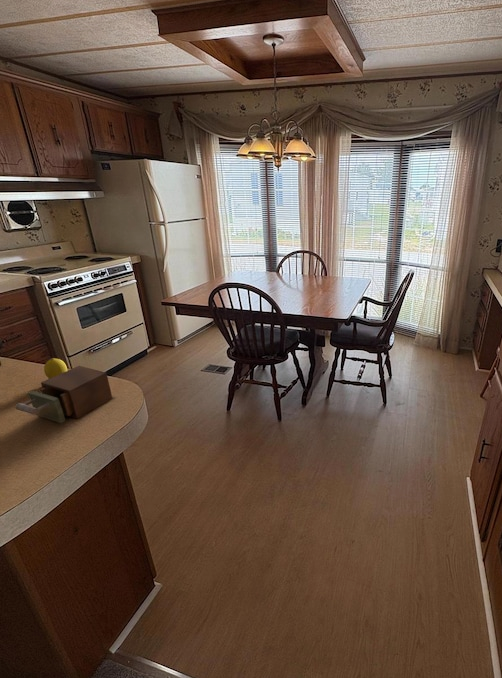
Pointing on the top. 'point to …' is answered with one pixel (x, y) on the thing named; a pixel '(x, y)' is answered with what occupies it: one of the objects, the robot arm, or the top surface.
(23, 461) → the top surface
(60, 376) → the cabinet
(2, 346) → the robot arm
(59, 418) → the drawer
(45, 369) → the lemon
